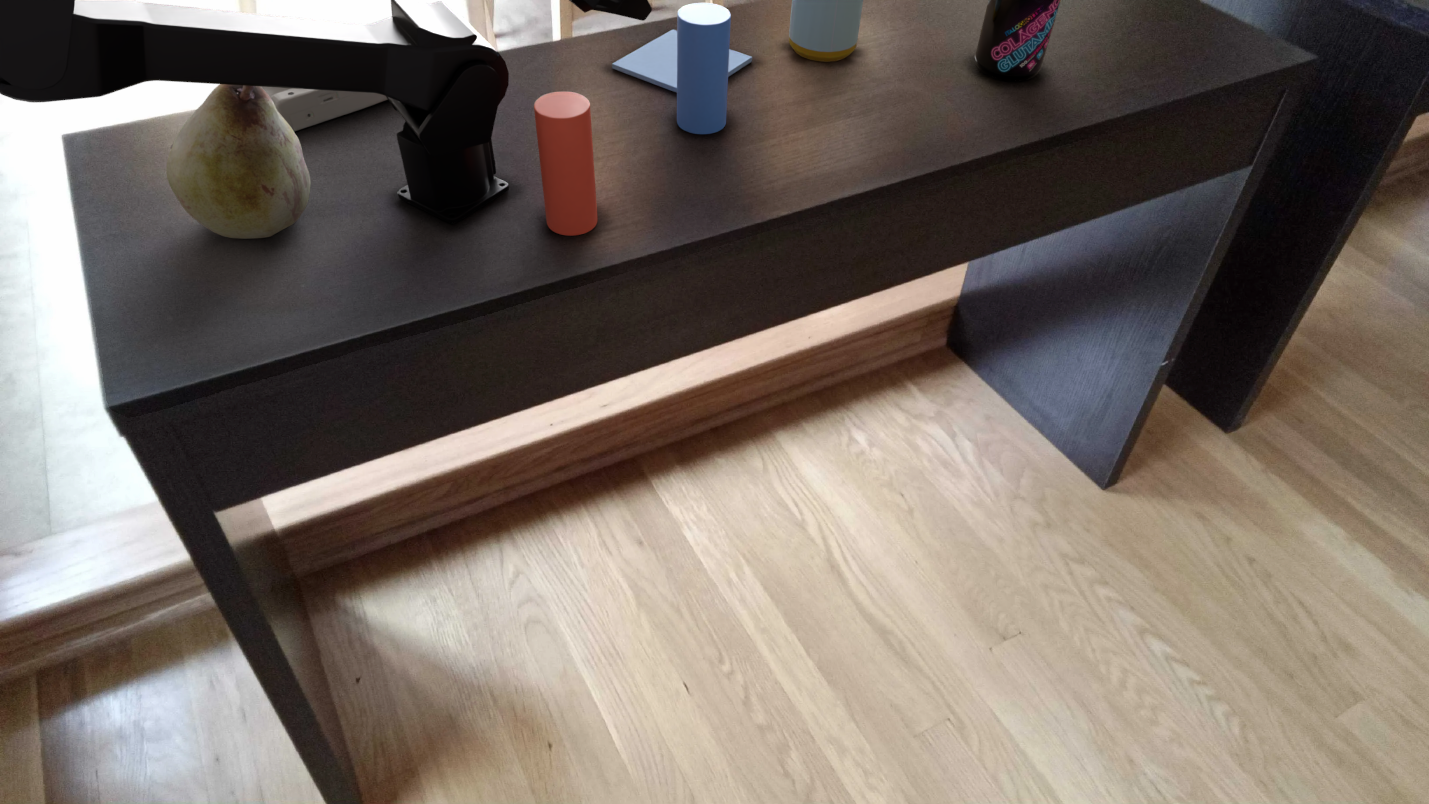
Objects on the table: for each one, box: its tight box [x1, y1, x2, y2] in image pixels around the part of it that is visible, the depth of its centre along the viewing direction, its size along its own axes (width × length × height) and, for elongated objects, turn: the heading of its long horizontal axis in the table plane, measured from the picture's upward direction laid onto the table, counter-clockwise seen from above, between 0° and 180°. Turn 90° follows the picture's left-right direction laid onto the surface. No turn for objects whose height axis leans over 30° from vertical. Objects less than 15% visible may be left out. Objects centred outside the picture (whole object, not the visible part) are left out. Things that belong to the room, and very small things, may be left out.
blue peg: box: [676, 2, 732, 135], centre depth 83 cm, size 4×4×10 cm
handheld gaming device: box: [260, 86, 389, 132], centre depth 87 cm, size 9×15×4 cm, turn 131°
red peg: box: [533, 91, 598, 237], centre depth 72 cm, size 4×4×10 cm
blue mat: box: [611, 29, 753, 94], centre depth 94 cm, size 10×10×1 cm
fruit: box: [165, 84, 312, 239], centre depth 69 cm, size 10×9×12 cm
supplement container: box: [974, 0, 1062, 83], centre depth 93 cm, size 7×7×10 cm
